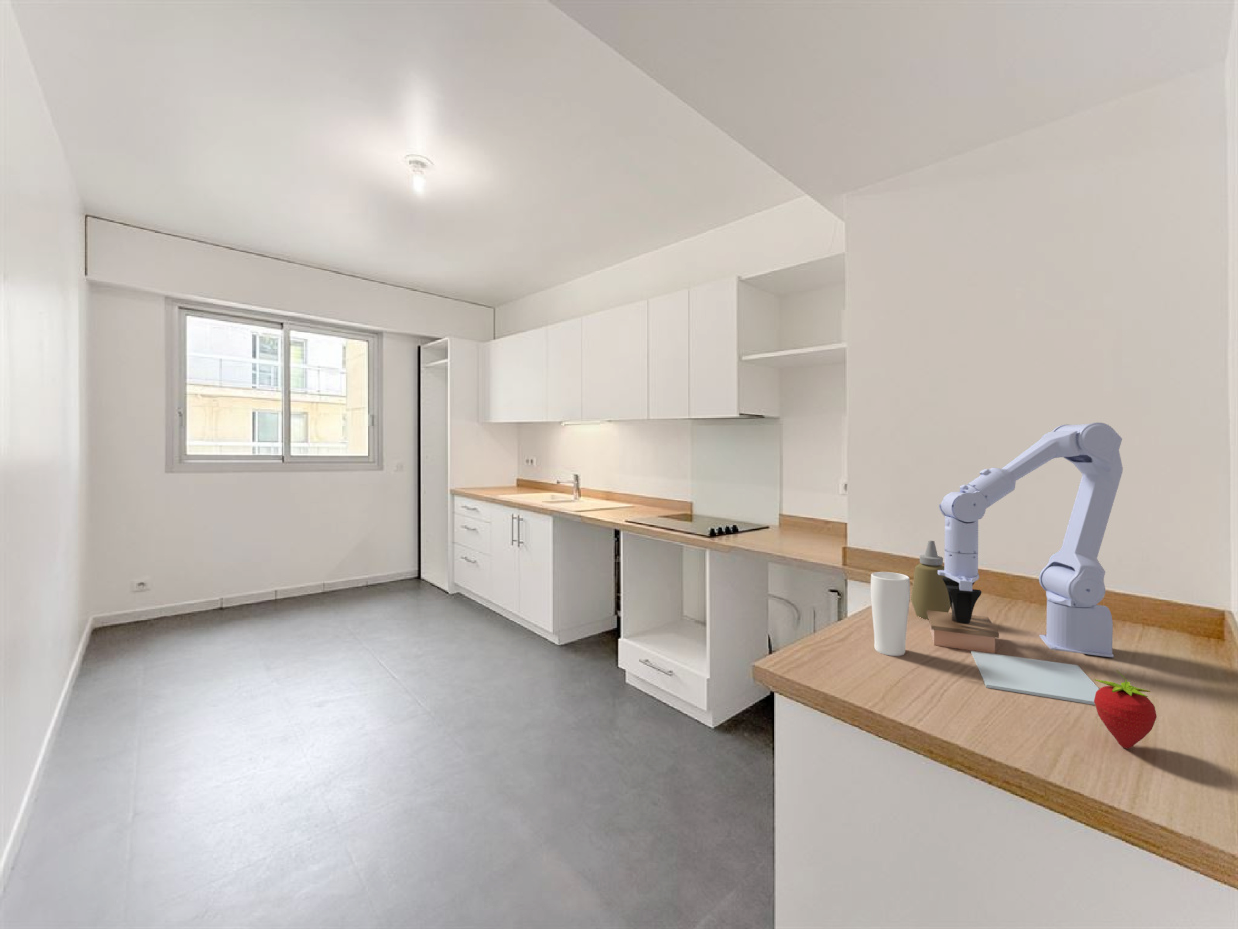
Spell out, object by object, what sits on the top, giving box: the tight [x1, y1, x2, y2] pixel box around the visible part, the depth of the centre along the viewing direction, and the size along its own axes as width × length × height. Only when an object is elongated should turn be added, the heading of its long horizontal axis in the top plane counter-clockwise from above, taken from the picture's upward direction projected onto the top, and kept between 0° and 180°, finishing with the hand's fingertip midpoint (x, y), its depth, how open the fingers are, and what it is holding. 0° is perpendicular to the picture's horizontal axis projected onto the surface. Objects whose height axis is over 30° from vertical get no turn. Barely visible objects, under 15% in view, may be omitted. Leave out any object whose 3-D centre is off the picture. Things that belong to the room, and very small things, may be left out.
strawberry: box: [1094, 669, 1158, 749], centre depth 69 cm, size 6×8×10 cm
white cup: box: [870, 571, 911, 657], centre depth 101 cm, size 7×7×15 cm
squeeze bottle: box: [910, 540, 951, 620], centre depth 121 cm, size 8×8×18 cm
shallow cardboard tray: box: [929, 625, 996, 654], centre depth 106 cm, size 10×10×4 cm
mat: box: [970, 650, 1100, 706], centre depth 90 cm, size 16×16×1 cm
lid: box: [927, 602, 1000, 639], centre depth 106 cm, size 11×11×4 cm
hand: (960, 617), depth 106 cm, fingers open, 6 cm apart
